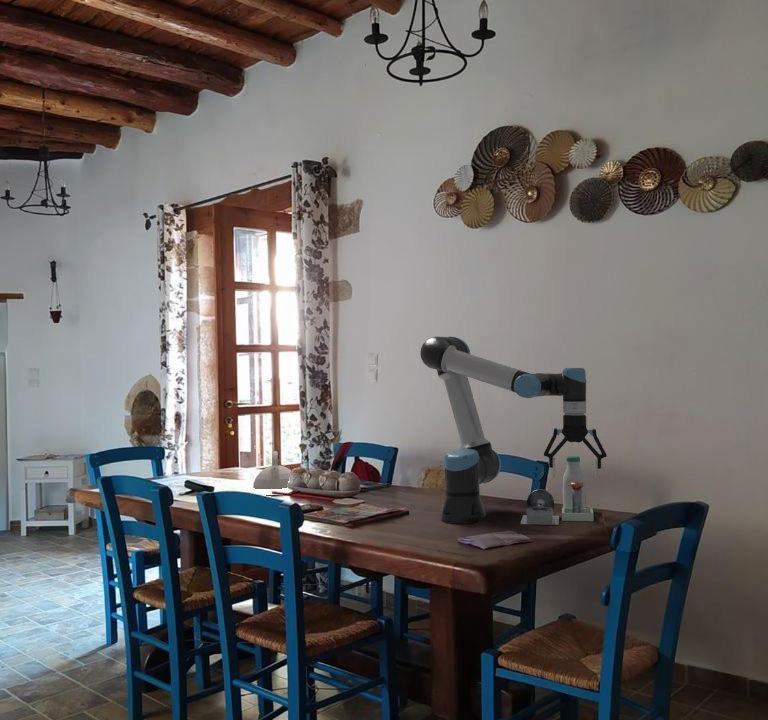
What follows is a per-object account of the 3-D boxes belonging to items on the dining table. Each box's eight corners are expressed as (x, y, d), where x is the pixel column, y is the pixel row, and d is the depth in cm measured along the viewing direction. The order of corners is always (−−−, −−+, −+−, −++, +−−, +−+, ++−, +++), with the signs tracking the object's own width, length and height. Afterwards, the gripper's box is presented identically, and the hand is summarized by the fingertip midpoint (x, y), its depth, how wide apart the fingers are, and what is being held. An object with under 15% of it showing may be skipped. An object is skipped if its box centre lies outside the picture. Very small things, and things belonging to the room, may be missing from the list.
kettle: (250, 497, 334) (249, 454, 335) (254, 489, 355) (253, 449, 355) (299, 495, 336) (298, 452, 336) (300, 488, 357) (299, 447, 357)
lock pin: (571, 520, 263) (570, 483, 263) (570, 518, 267) (570, 481, 267) (584, 521, 262) (583, 484, 262) (583, 518, 266) (583, 481, 266)
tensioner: (520, 527, 257) (519, 495, 257) (523, 518, 272) (522, 488, 272) (558, 528, 255) (557, 496, 255) (559, 519, 269) (558, 488, 269)
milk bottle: (586, 516, 273) (584, 457, 273) (563, 516, 275) (561, 457, 275) (585, 512, 281) (583, 455, 281) (563, 512, 282) (561, 455, 283)
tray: (562, 524, 261) (561, 513, 261) (562, 518, 271) (562, 507, 271) (593, 524, 259) (593, 513, 259) (592, 519, 268) (592, 508, 268)
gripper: (535, 414, 264) (536, 478, 264) (614, 415, 258) (614, 480, 258) (536, 413, 271) (537, 475, 271) (613, 413, 266) (613, 477, 266)
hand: (575, 478), depth 265 cm, fingers open, 13 cm apart
